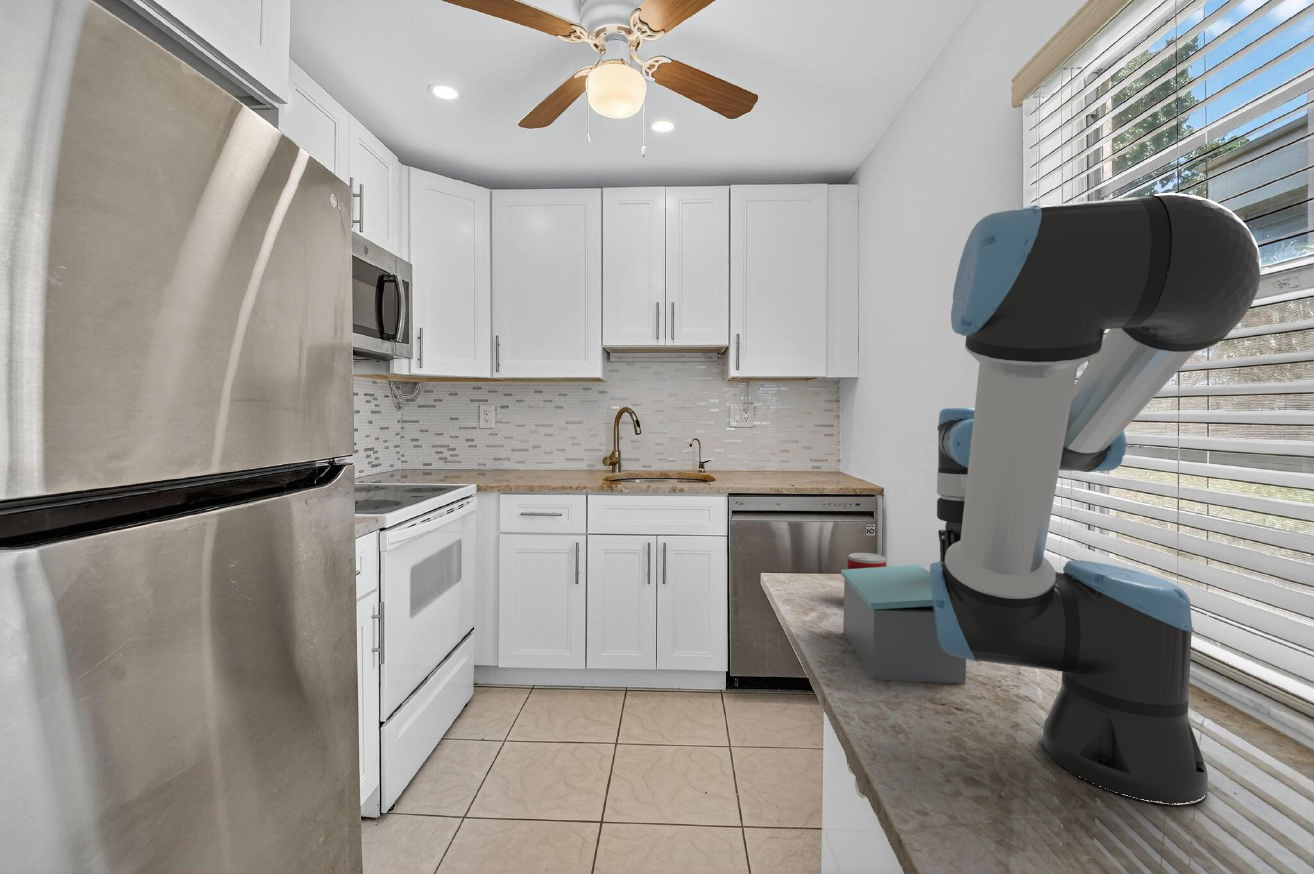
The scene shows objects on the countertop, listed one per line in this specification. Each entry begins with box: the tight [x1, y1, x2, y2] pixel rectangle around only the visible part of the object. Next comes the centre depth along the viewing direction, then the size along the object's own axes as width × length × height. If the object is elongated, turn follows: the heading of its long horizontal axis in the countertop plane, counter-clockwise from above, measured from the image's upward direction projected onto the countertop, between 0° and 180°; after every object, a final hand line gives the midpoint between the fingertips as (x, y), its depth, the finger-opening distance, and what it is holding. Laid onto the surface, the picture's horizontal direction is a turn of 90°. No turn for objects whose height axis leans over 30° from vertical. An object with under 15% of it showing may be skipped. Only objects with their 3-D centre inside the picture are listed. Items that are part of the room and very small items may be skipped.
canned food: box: [847, 552, 887, 569], centre depth 127 cm, size 8×8×11 cm
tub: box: [842, 577, 967, 685], centre depth 99 cm, size 20×14×11 cm
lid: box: [840, 564, 933, 610], centre depth 99 cm, size 21×20×8 cm
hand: (958, 633), depth 98 cm, fingers closed on lid, 2 cm apart
